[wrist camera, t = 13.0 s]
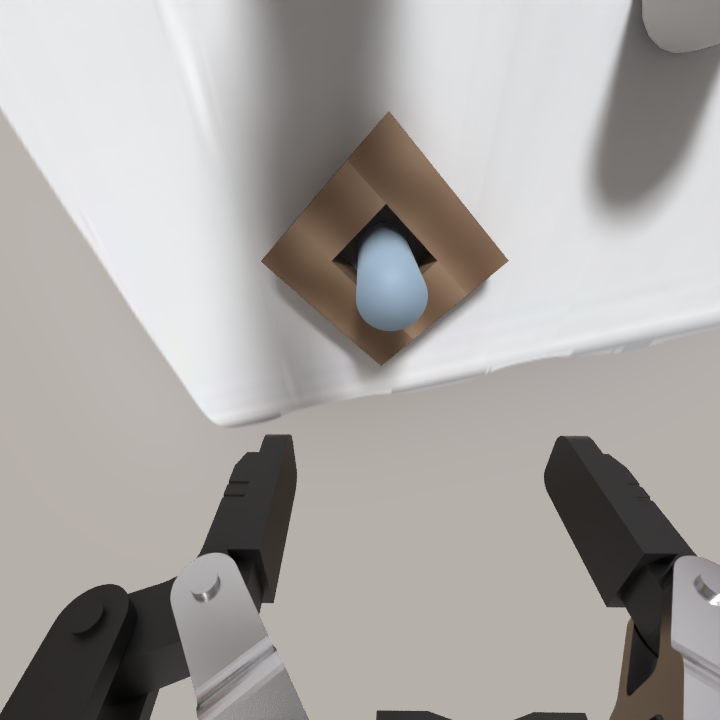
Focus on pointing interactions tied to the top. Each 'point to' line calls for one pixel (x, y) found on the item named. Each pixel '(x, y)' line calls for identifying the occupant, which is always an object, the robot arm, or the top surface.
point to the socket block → (356, 208)
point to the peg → (388, 280)
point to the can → (682, 24)
